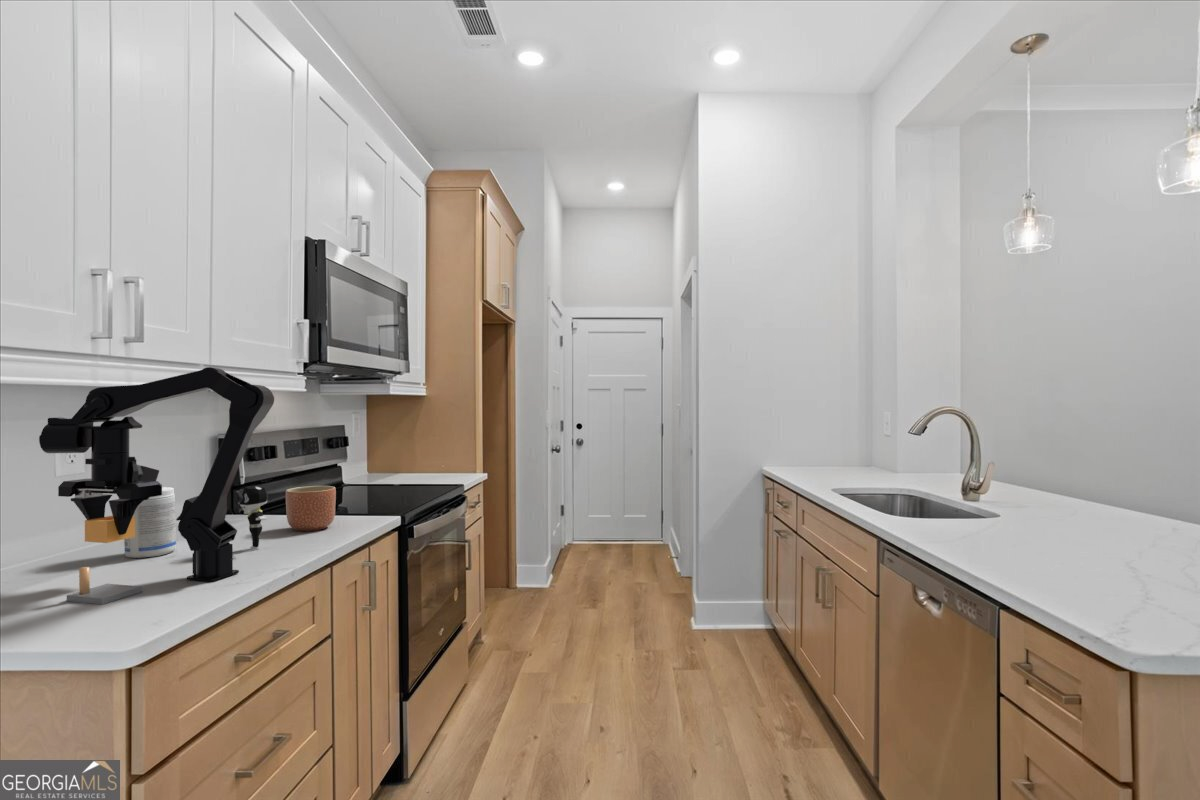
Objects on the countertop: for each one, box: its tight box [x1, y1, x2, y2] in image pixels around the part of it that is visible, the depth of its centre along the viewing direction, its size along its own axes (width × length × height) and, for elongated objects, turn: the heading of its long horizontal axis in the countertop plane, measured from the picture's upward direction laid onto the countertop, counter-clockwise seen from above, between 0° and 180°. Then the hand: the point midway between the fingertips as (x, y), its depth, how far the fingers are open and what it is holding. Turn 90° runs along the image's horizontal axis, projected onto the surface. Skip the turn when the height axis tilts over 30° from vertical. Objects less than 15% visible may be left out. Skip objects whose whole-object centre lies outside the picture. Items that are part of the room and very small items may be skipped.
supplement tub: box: [123, 486, 177, 559], centre depth 140 cm, size 10×10×15 cm
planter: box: [285, 485, 337, 532], centre depth 167 cm, size 12×12×11 cm
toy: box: [239, 484, 269, 551], centre depth 144 cm, size 13×6×15 cm, turn 42°
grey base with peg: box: [66, 566, 143, 605], centre depth 109 cm, size 8×7×6 cm
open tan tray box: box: [84, 515, 135, 544], centre depth 118 cm, size 5×5×4 cm
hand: (110, 533), depth 118 cm, fingers closed on open tan tray box, 5 cm apart
